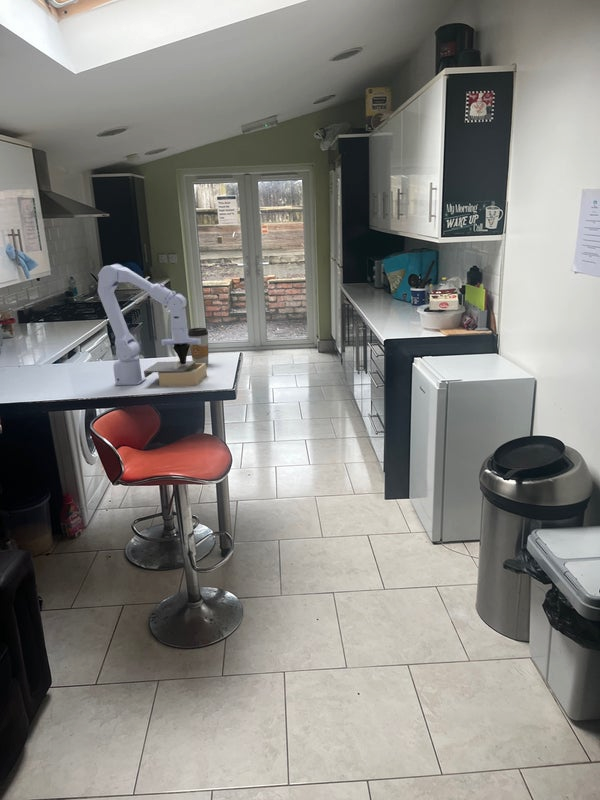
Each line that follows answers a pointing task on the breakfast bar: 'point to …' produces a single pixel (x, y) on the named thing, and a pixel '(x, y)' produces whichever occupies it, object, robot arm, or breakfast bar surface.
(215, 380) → the breakfast bar surface
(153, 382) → the breakfast bar surface
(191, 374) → the storage box
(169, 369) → the grey square slab
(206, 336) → the coffee cup
